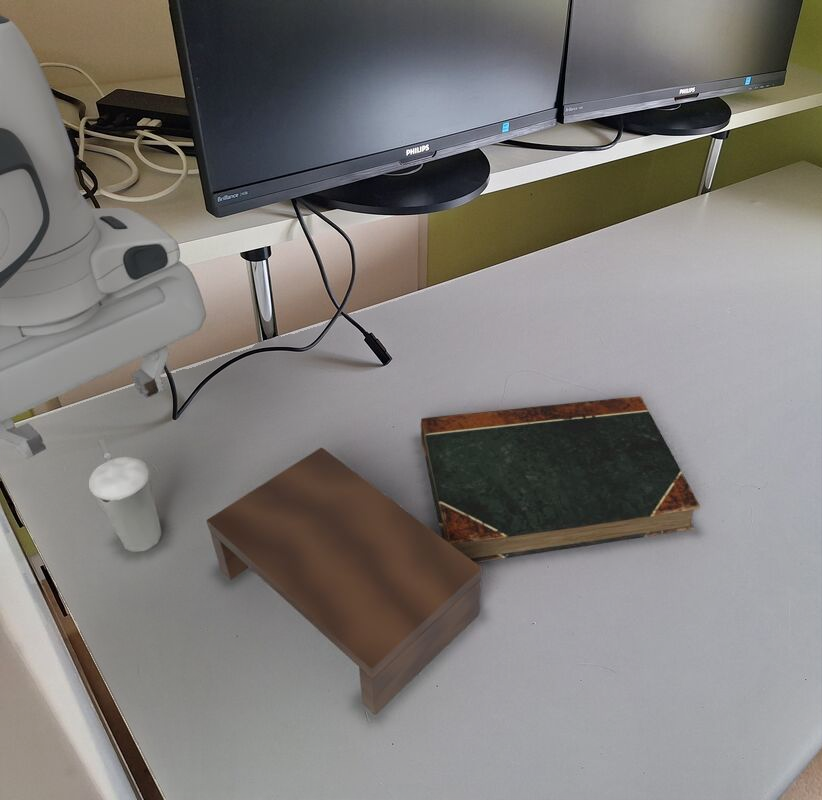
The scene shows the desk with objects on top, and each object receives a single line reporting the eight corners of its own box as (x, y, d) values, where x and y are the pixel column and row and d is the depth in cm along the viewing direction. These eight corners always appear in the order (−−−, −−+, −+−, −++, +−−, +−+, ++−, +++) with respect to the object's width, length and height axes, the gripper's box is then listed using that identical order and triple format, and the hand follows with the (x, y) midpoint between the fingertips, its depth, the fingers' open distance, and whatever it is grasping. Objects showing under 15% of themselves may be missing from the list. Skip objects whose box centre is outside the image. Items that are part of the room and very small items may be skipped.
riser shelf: (375, 715, 59) (371, 668, 55) (220, 570, 68) (205, 519, 63) (478, 616, 67) (482, 567, 62) (327, 496, 75) (321, 446, 71)
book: (446, 568, 70) (693, 531, 76) (447, 543, 68) (702, 507, 74) (420, 438, 83) (634, 415, 89) (419, 413, 80) (639, 391, 86)
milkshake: (155, 505, 72) (129, 429, 66) (176, 543, 69) (151, 467, 63) (104, 527, 70) (71, 450, 63) (124, 566, 67) (92, 490, 60)
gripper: (-131, 357, 43) (-32, 516, 52) (198, 233, 55) (231, 378, 64) (-174, 310, 45) (-72, 469, 54) (149, 202, 58) (187, 346, 67)
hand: (94, 419), depth 59 cm, fingers open, 8 cm apart
